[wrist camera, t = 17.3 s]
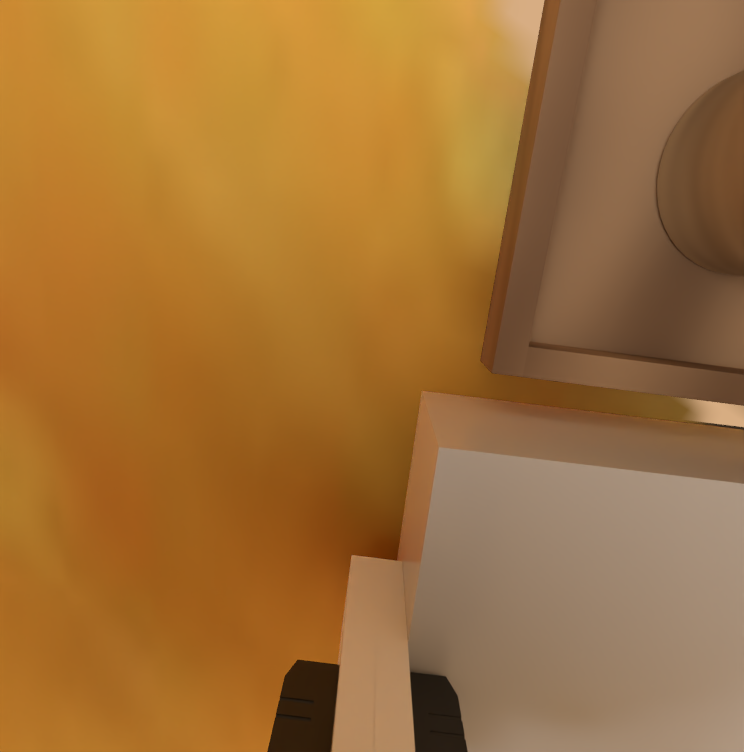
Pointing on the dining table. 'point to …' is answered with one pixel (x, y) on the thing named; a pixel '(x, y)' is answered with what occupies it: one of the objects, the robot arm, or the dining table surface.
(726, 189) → the roller
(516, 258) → the tray
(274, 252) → the dining table surface
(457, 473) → the slab
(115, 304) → the dining table surface
